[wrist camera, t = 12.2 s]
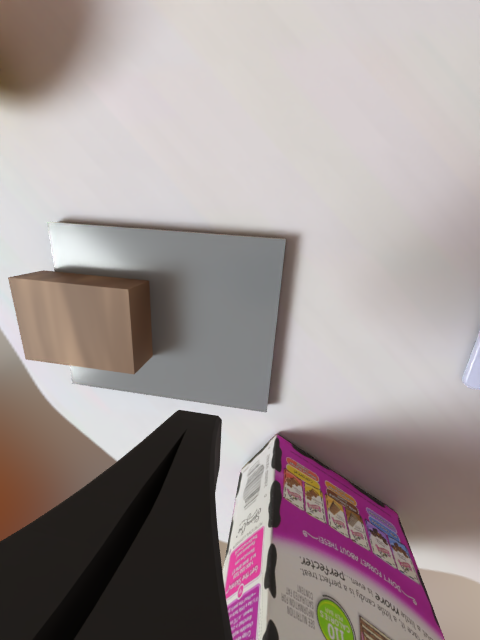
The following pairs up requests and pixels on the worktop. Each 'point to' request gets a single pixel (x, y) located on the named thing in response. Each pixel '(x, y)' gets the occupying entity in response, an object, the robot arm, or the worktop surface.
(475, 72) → the worktop surface
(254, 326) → the grey flat rectangular plate
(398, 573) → the candy bar box
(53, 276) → the walnut slab
